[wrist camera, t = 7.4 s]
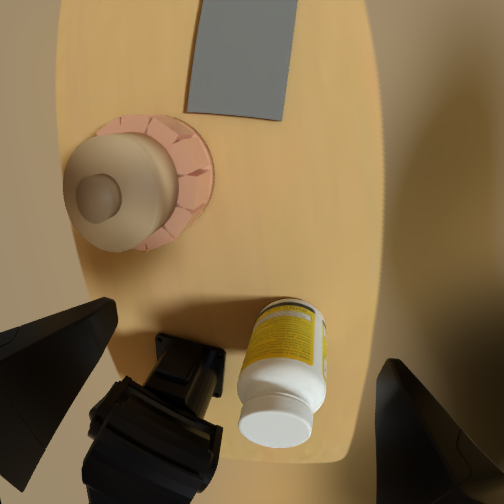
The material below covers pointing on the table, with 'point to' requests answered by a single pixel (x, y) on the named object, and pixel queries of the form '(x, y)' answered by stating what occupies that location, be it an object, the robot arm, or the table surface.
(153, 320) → the table surface
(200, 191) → the pink notched ring
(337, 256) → the table surface
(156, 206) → the lid
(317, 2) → the table surface
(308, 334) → the supplement bottle
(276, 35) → the mat
